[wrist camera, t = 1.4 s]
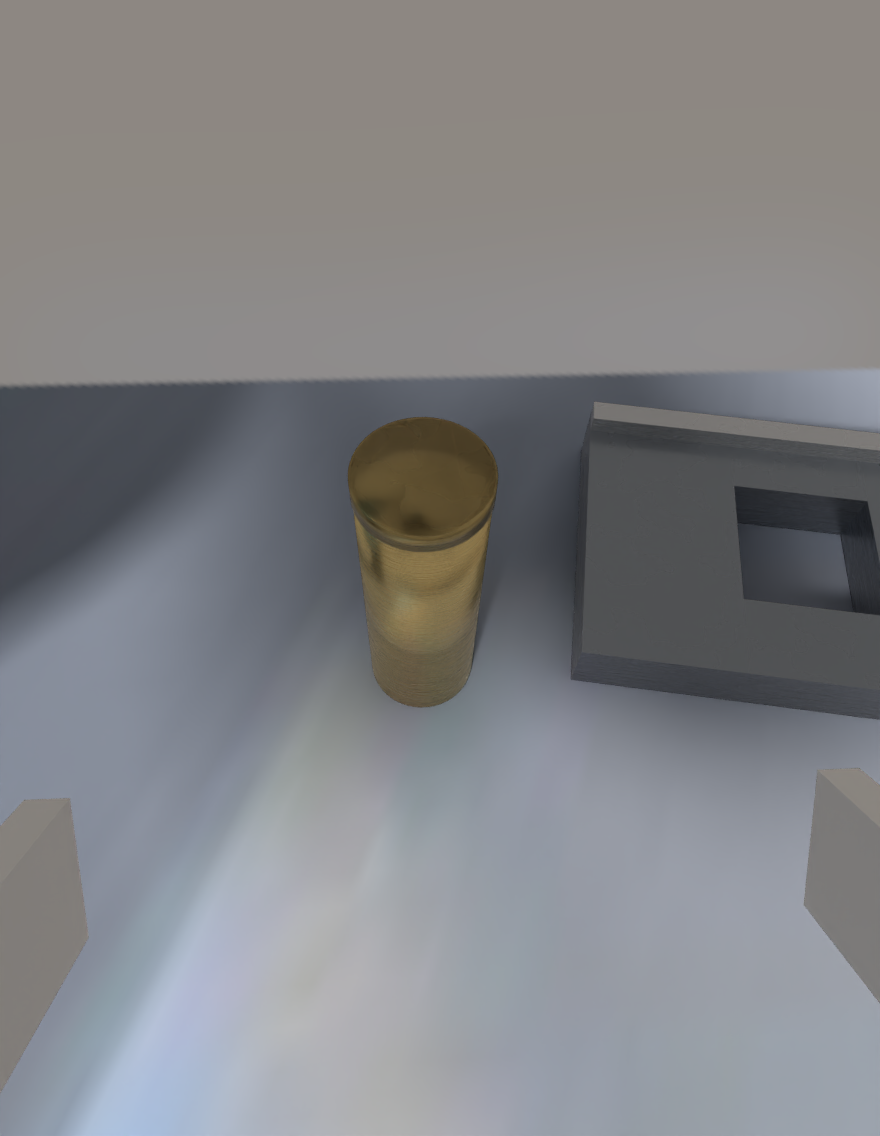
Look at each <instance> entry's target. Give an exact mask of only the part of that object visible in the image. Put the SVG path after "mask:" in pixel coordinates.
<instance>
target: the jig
mask: <svg viewBox="0 0 880 1136" xmlns="http://www.w3.org/2000/svg"><path fill="white" fill-rule="evenodd" d="M737 522H739V523H747V524H756V525H764V526H773V527H781V528H790V529H798V530H807V531H815V532H824V533H832V534H841V539H842V545H843V551H844V557H845V563H846V569H847V575H848V581H849V587H850V592H851V598H852V604H853V610H854V612H847V611H839V610H831V609H823V608H815V607H806V606H798V605H790V604H782V603H774V602H766V601H758V600H749V599H744V596H743V584H742V572H741V560H740V549H739V537H738V525H737ZM571 680H578V681H586V682H594V683H601V684H609V685H617V686H625V687H632V688H640V689H648V690H656V691H663V692H671V693H679V694H687V695H694V696H702V697H710V698H718V699H725V700H733V701H741V702H749V703H756V704H764V705H772V706H779V707H787V708H795V709H803V710H810V711H818V712H826V713H834V714H841V715H849V716H857V717H865V718H872V719H880V433H871V432H862V431H853V430H844V429H835V428H826V427H817V426H808V425H799V424H790V423H781V422H772V421H763V420H754V419H745V418H736V417H727V416H718V415H709V414H700V413H691V412H682V411H673V410H665V409H656V408H647V407H638V406H629V405H620V404H611V403H602V402H594V405H593V409H592V412H591V416H590V420H589V424H588V427H587V431H586V435H585V438H584V442H583V446H582V450H581V468H580V489H579V511H578V533H577V554H576V576H575V598H574V619H573V641H572V663H571Z"/></svg>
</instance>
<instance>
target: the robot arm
mask: <svg viewBox="0 0 880 1136" xmlns="http://www.w3.org/2000/svg"><path fill="white" fill-rule="evenodd" d="M804 906H805V907H806V909H807V910H808V911H809V912H810V914H811V915H812V916H813V918H814V919H815V920H816V921H817V923H818V924H819V925H820V927H821V928H822V929H823V931H824V932H825V933H826V934H827V936H828V937H829V938H830V940H831V941H832V942H833V943H834V945H835V946H836V947H837V949H838V950H839V951H840V952H841V954H842V955H843V956H844V958H845V959H846V960H847V962H848V963H849V964H850V965H851V967H852V968H853V969H854V971H855V972H856V973H857V974H858V976H859V977H860V978H861V980H862V981H863V982H864V984H865V985H866V986H867V987H868V989H869V990H870V991H871V993H872V994H873V995H874V996H875V998H876V999H877V1000H878V1002H879V1003H880V785H879V784H877V783H876V782H875V781H874V780H873V779H872V778H870V777H869V776H868V775H867V774H866V773H864V772H863V771H862V770H861V769H860V768H854V769H827V770H817V780H816V790H815V799H814V809H813V819H812V829H811V838H810V848H809V858H808V868H807V877H806V887H805V897H804ZM88 938H89V935H88V928H87V921H86V913H85V906H84V899H83V891H82V884H81V877H80V869H79V862H78V855H77V847H76V840H75V833H74V825H73V818H72V810H71V803H70V798H63V799H37V800H24V801H23V802H22V803H21V804H20V805H19V806H18V807H17V809H16V810H15V811H14V812H13V813H12V814H11V815H10V816H9V817H8V818H7V820H6V821H5V822H4V823H3V824H2V825H1V826H0V1093H1V1091H2V1090H3V1088H4V1086H5V1084H6V1083H7V1081H8V1079H9V1077H10V1075H11V1074H12V1072H13V1070H14V1068H15V1067H16V1065H17V1063H18V1061H19V1060H20V1058H21V1056H22V1054H23V1053H24V1051H25V1049H26V1047H27V1045H28V1044H29V1042H30V1040H31V1038H32V1037H33V1035H34V1033H35V1031H36V1030H37V1028H38V1026H39V1024H40V1023H41V1021H42V1019H43V1017H44V1015H45V1014H46V1012H47V1010H48V1008H49V1007H50V1005H51V1003H52V1001H53V1000H54V998H55V996H56V994H57V992H58V991H59V989H60V987H61V985H62V984H63V982H64V980H65V978H66V977H67V975H68V973H69V971H70V970H71V968H72V966H73V964H74V962H75V961H76V959H77V957H78V955H79V954H80V952H81V950H82V948H83V947H84V945H85V943H86V941H87V940H88Z"/></svg>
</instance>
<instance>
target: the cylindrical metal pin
mask: <svg viewBox="0 0 880 1136" xmlns="http://www.w3.org/2000/svg"><path fill="white" fill-rule="evenodd" d="M348 484H349V492H350V500H351V505H352V508H353V511H354V519H355V527H356V535H357V543H358V552H359V560H360V568H361V576H362V585H363V593H364V601H365V609H366V618H367V626H368V634H369V643H370V651H371V659H372V667H373V672H374V676H375V678H376V680H377V682H378V684H379V686H380V687H381V688H382V690H383V691H384V692H385V693H386V694H387V695H388V696H390V697H391V698H392V699H394V700H396V701H398V702H400V703H402V704H405V705H408V706H413V707H431V706H435V705H439V704H442V703H444V702H446V701H448V700H449V699H451V698H453V697H454V696H455V695H456V694H457V693H458V692H459V691H460V690H461V689H462V688H463V686H464V685H465V683H466V681H467V680H468V677H469V674H470V670H471V664H472V657H473V649H474V642H475V635H476V627H477V620H478V612H479V605H480V597H481V590H482V582H483V575H484V567H485V560H486V552H487V545H488V538H489V530H490V523H491V515H492V511H493V508H494V504H495V499H496V492H497V484H498V470H497V465H496V462H495V459H494V457H493V454H492V452H491V451H490V449H489V448H488V446H487V445H486V444H485V443H484V442H483V441H482V440H481V439H480V438H479V437H478V436H477V435H476V434H474V433H473V432H471V431H470V430H469V429H467V428H465V427H463V426H461V425H459V424H456V423H454V422H451V421H447V420H443V419H438V418H430V417H414V418H406V419H402V420H398V421H394V422H391V423H389V424H386V425H384V426H382V427H380V428H378V429H377V430H375V431H374V432H372V433H371V434H370V435H368V436H367V437H366V438H365V439H364V440H363V441H362V442H361V443H360V444H359V446H358V447H357V448H356V450H355V452H354V454H353V456H352V458H351V461H350V464H349V469H348Z"/></svg>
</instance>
